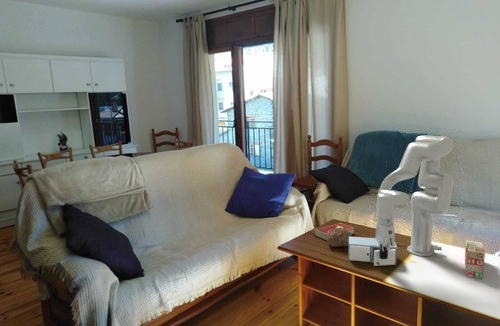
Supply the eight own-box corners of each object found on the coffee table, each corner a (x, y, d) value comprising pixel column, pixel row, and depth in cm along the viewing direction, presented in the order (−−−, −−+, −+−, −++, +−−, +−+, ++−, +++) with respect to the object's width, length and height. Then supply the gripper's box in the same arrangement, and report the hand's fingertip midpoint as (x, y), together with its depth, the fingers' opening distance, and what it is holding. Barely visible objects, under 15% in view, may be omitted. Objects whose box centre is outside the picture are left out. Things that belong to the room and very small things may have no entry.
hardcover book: (314, 235, 207) (314, 228, 206) (339, 228, 218) (339, 222, 217) (328, 242, 197) (328, 234, 196) (354, 234, 207) (354, 227, 207)
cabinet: (393, 255, 176) (394, 239, 175) (397, 266, 165) (397, 249, 163) (348, 252, 182) (348, 236, 180) (348, 261, 170) (349, 245, 169)
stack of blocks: (464, 257, 172) (466, 234, 170) (479, 260, 169) (481, 236, 167) (465, 276, 153) (467, 250, 151) (482, 279, 150) (485, 252, 148)
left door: (395, 263, 166) (396, 248, 165) (398, 266, 164) (399, 250, 162) (373, 265, 165) (374, 249, 164) (375, 267, 163) (376, 251, 161)
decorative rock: (351, 242, 194) (352, 225, 192) (350, 250, 183) (350, 232, 181) (328, 240, 198) (328, 223, 196) (325, 248, 188) (325, 230, 186)
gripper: (401, 225, 152) (399, 264, 155) (384, 215, 166) (383, 251, 169) (385, 226, 151) (383, 266, 154) (369, 215, 166) (368, 252, 169)
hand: (383, 258), depth 162 cm, fingers closed
